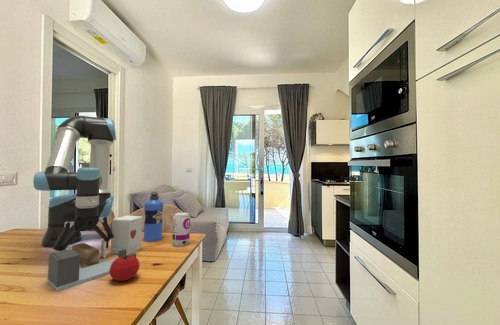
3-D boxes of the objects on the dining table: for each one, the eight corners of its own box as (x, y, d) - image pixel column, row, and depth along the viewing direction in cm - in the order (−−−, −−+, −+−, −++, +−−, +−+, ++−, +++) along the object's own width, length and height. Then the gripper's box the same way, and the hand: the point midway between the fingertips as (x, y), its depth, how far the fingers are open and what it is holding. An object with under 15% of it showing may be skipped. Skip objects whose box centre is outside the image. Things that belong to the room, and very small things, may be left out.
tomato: (136, 283, 72) (137, 258, 73) (105, 287, 70) (106, 260, 70) (141, 271, 81) (142, 249, 81) (113, 274, 78) (114, 251, 79)
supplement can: (192, 242, 114) (193, 213, 114) (181, 247, 106) (182, 215, 107) (180, 240, 117) (181, 211, 118) (168, 245, 110) (169, 214, 110)
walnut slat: (86, 269, 82) (87, 252, 83) (71, 260, 90) (72, 245, 90) (98, 265, 86) (99, 249, 86) (83, 257, 94) (83, 242, 94)
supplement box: (127, 255, 96) (129, 220, 96) (109, 253, 98) (111, 218, 98) (142, 248, 105) (143, 216, 105) (125, 247, 106) (126, 215, 107)
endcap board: (47, 281, 73) (48, 253, 73) (123, 258, 92) (124, 236, 93) (57, 291, 67) (58, 260, 67) (136, 264, 87) (137, 241, 87)
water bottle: (139, 240, 116) (140, 192, 117) (152, 235, 125) (154, 190, 126) (153, 242, 113) (154, 192, 114) (166, 237, 122) (167, 191, 123)
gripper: (49, 211, 77) (46, 276, 76) (124, 204, 97) (122, 254, 96) (43, 209, 81) (40, 270, 80) (115, 202, 101) (113, 251, 100)
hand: (84, 262), depth 88 cm, fingers open, 12 cm apart
